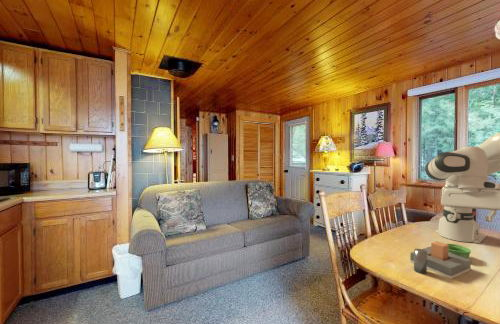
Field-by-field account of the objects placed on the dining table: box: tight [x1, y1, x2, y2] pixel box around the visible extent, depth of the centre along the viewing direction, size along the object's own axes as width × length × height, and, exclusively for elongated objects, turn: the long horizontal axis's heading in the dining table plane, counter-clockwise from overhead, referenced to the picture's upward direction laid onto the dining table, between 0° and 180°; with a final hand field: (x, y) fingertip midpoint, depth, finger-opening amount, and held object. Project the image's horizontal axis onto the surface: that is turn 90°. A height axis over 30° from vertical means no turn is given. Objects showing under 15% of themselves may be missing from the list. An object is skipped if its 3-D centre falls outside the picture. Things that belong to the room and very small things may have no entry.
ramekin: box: [446, 243, 472, 260], centre depth 101 cm, size 9×9×4 cm
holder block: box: [409, 246, 472, 280], centre depth 94 cm, size 14×14×4 cm
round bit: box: [413, 248, 428, 275], centre depth 90 cm, size 4×4×8 cm
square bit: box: [430, 241, 449, 261], centre depth 94 cm, size 4×4×8 cm
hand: (472, 219), depth 93 cm, fingers open, 8 cm apart
